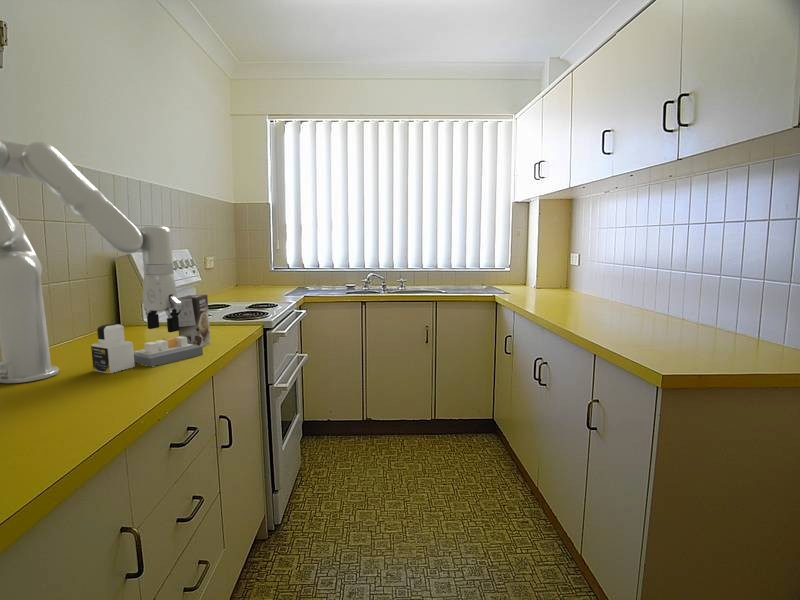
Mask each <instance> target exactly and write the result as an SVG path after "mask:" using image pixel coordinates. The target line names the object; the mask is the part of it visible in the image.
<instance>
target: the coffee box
mask: <svg viewBox="0 0 800 600" xmlns="http://www.w3.org/2000/svg"><path fill="white" fill-rule="evenodd" d="M177 299H178V300H179V301H180V302H181V304H182V305H181V309H180V310H181V312H180V313H179V315H180V316H179V317H178V318H179V331H178V336H183V337H187V344H193V345H197V346H202V348H204V347H206V346H207V345H209V344H211V331H210V318H209V302H208V294H192V295H190V294H189V295H184V296H182V297H177Z"/></svg>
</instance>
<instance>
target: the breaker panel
mask: <svg viewBox="0 0 800 600" xmlns="http://www.w3.org/2000/svg"><path fill="white" fill-rule="evenodd" d="M133 352H134V363H138V364H137V365H139V364H143V365H147V366H150V367H149V368H152V367H151V366H155V367H157V366H156V365H159V366H162V364H163V365H166V363H167V364H170V363H174V362H179V361H183V360H186V359H191V358H194V357H198V356H203V355H204V351H203V347H202V346H197V345H193V344H187V337H183V336H179V335H178V336H174V337H165V338H162V339H160V340H155V341H150V342H149V341H148V342H144V348H141V349H139V350H133ZM143 365H142V366H143ZM147 366H146V367H147Z"/></svg>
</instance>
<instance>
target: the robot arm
mask: <svg viewBox="0 0 800 600" xmlns="http://www.w3.org/2000/svg"><path fill="white" fill-rule="evenodd" d="M0 175H6V176H13V177H18V178H26V179H33V180H37V181H38V182H39V183H40V184H42V185H43V186H44V187H45V188H46V189H47V190H48V191H49V192H50V193H51V194H53V196H54V197H55V198H56V199H57V200H58V201H59V202H61V203H62V204H63V205H64V206H65V207H66V208H67V209H68V210H69V211H71V212H72V213H73V214H75V215H76V216H77V217H79V218H81V219H82V220H83V221H85V222H86V223H87V224H88V225H89V226H91V227H92V228H93V229H94V230H95V231H96V232H97V233H98V234H99V235H100V236H102V238H104V239H105V240H106V242H107V243H108V244H109V245H110V246H111V248H112V249H113V250H115V251H116V252H117V253H121V254H126V255H129V254H134V253H136V252H141V253H142V263H143V265H142V266H143V280H142V299H141V302H142V305H143V309H144V310H145V316H146V320H147V329H148V330H152V329H158V328H160V320H159V319H160V318H159V314H158V312H159V313H160V312H165V314H166V316H167V317H168V318H166V324H167V325H166V327H167V333H175V332H179V318H178V317H179V316H180V315H179V313H180V312H181V310H180V309H181V305H182V304H181V302H180V301H179V300H178V299H177V298H178V293H177V286H176V281H175V277H174V261H173V249H172V248H173V246H172V233H171V230H170V228H169V227H167V226H164V225H152V226H150V225H149V226H143V227H138V226H136V225H134V224H133V222H131V221H130V220H129V219H128V218H127V217H126V215H124V214H123V213H122V212H121V211H120V210H119V209H118V208H117V207H116V206H114V204H113V203H112V202H111V201H110V200H109V199H108V198H106V196H105V195H104V194H103V192H101V191H100V190H99V189H98V188H97V187H96V186H95V185H94V184H93V183H92V182H91V181H90V180H89V179H88V178H86V177H85V175H84V174H82V172H81V171H80V170H78V168H77V167H76V166H74V165H73V163H72V162H71V161H69V160H68V159H67V157H66V156H64V155H63V154H62V153H61V152H60V151H59V150H58V149H57V148H56V147H54V146H53V145H52V144H50V143H48V142H44V141H36V142H35V141H34V142H31V143H29V144H23V143H17V142H11V141H7V140H1V139H0ZM42 273H43V266H42V263H41V261H40V259H39V257H38V255H37V252H36V251H35V249H34V247H33V246H32V244H31V242H30V240H29V238H28V235H27V233H26V232H25V230H24V227H22V225H21V223H20V221H19V220H18V219H17V218H16V217H15V216H14V215H12V214H11V213H10V211H9V210H8V208H7V205H6V204H5V203H4V201H3V199H2V196H0V349H1V356H2V357H1V358H2V361H0V383H1V384H18V383H20V384H21V383H27V382H35V381H39V380H44V379H48V378H51V377H54V376H55V375H57V374H58V373H59V370H60V368H59V367H58V366H56V365H51V364H52V362H51V354H50V345H49V336H48V335H49V334H48V329H47V328H48V327H47V318H46V313H45V312H46V311H45V303H44V296H43V295H44V294H43V286H42V277H41V276H42Z"/></svg>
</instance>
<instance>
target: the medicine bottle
mask: <svg viewBox="0 0 800 600" xmlns="http://www.w3.org/2000/svg"><path fill="white" fill-rule="evenodd" d="M96 330H97V340H98V342H97V343H92V344H91V345H90V350H91V358H92V368H93V371H94V372H98V373H102V374H103V373H104V374H108V373H109V374H108V375H110V373H111V374H114V372H115V373H118V371H119V372H121V370H123V371H126V370H129V368H130V369H134V368H135V367H136V366H135V365H136V364H135V363H134V352H133V351H134V344H133V342H132V341H129V340H125V339H126V337H125V328H124V325H123V324H121V323H110V324H103V325H100V326H98V327H97V329H96ZM133 367H134V368H133ZM125 369H126V370H125Z"/></svg>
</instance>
